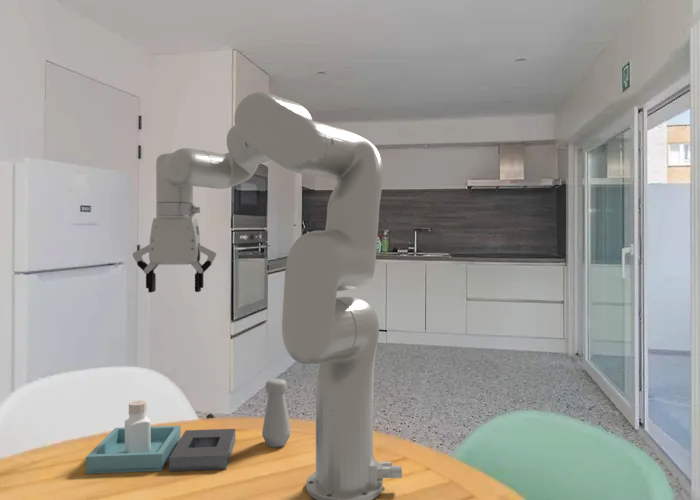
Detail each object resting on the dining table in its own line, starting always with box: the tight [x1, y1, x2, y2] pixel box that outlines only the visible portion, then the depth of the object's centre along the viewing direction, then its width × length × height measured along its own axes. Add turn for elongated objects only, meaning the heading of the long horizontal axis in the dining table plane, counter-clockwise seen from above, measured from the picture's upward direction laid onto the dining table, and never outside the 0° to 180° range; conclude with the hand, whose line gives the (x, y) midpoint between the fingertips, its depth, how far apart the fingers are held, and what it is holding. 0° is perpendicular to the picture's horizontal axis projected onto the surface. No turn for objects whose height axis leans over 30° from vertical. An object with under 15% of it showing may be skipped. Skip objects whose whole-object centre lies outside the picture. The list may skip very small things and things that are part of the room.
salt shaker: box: [261, 378, 291, 449], centre depth 107 cm, size 6×6×13 cm
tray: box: [85, 425, 182, 475], centre depth 101 cm, size 13×15×3 cm
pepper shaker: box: [124, 399, 152, 453], centre depth 102 cm, size 4×4×10 cm
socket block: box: [168, 428, 236, 473], centre depth 102 cm, size 10×14×2 cm
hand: (175, 291), depth 114 cm, fingers open, 9 cm apart
